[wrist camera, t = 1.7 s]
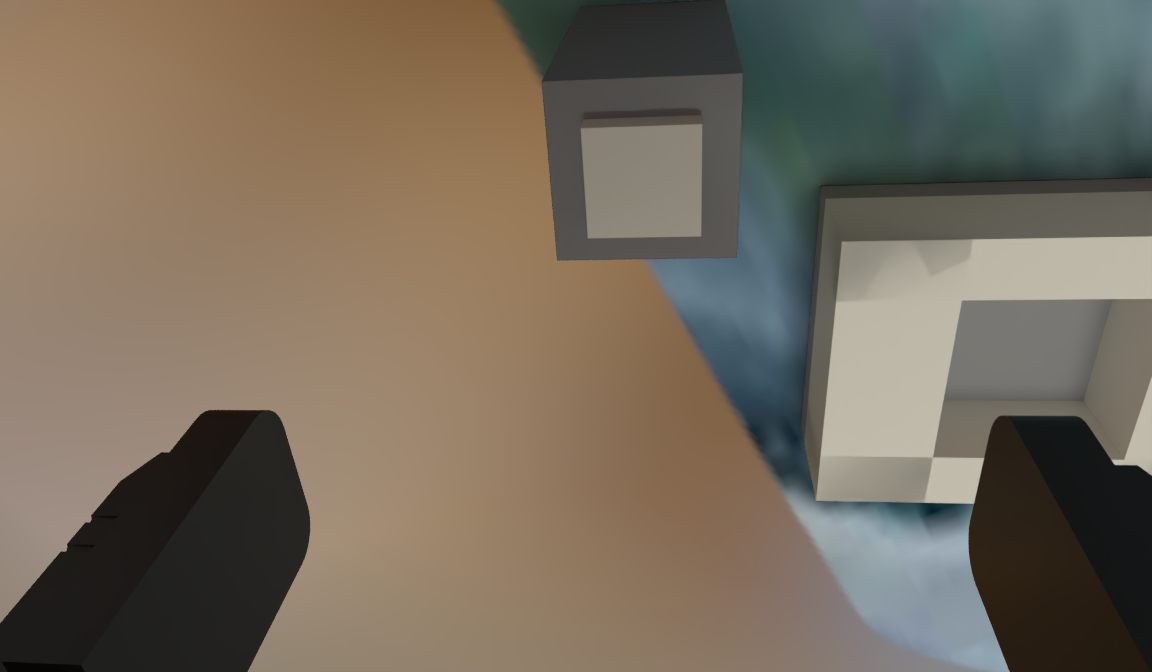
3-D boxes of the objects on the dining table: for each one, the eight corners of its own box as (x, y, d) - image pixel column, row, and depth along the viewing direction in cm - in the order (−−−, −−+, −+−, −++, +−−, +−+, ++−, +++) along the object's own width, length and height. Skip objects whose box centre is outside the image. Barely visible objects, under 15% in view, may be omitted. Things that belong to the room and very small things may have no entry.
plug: (580, 6, 24) (537, 89, 17) (724, -1, 24) (744, 81, 16) (589, 145, 26) (553, 272, 19) (721, 140, 26) (738, 269, 18)
